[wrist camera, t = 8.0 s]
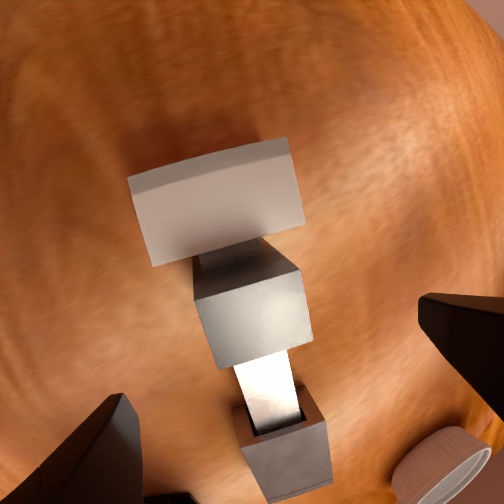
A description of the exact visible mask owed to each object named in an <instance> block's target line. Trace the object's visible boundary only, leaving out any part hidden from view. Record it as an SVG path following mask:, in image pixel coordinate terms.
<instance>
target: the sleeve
mask: <svg viewBox="0 0 504 504" xmlns="http://www.w3.org/2000/svg"><path fill="white" fill-rule="evenodd" d="M295 392H296V396H297V400H298V405H299V409H300V414H301V419H302V422H301V423H298V424H295V425H292V426H289V427H286V428H283V429H280V430H277V431H274V432H271V433H267V434H264V435H261V436H256V434H255V431H254V428H253V426H252V423H251V421H250V418H249V415H248V413H247V410H246V407H245V405H244V406H240V407H237V408H233V409H232V414H233V418H234V423H235V427H236V431H237V436H238V440H239V444H240V448H241V450H242V452H243V454H244V457H245V459H246V461H247V463H248V465H249V467H250V469H251V471H252V473H253V475H254V477H255V479H256V481H257V483H258V485H259V487H260V489H261V491H262V493H263V495H264V496H265V498H266V500H267V502H268V504H271V503H275V502H278V501H282V500H285V499H288V498H292V497H295V496H298V495H301V494H304V493H307V492H310V491H312V490H315V489H318V488H321V487H323V486H326V485H328V484H331V483H333V475H332V466H331V458H330V451H329V443H328V436H327V428H326V421H325V419H324V417H323V415H322V414H321V412H320V410H319V409H318V407H317V405H316V403H315V402H314V400H313V398H312V397H311V395H310V393H309V391H308V390H307V388H306V386H303V387H300V388H297V389H295Z"/></svg>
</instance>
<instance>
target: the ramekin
mask: <svg viewBox="0 0 504 504" xmlns="http://www.w3.org/2000/svg"><path fill="white" fill-rule="evenodd" d="M490 454H491V448H490V446H489V445H488V444H487V443H485V442H481V441H480V440H479V439H477V438H476V437H474V436H473V435H472V434H470V433H469V432H467V431H466V430H464V429H462V428H461V427H458V426H449V427H445V428H442V429H440V430H438V431H436V432H434V433H433V434H431V435H429V436H428V437H427V438H425V439H424V440H423V441H421V442H420V443H419V444H418V445H416V446H415V447H414V448H413V449H412V450H411V451H410V452H409V453H408V454H407V455H406V456H405V457H404V458H403V459H402V460H401V462H400V463H399V464H398V465H397V467H396V469H395V470H394V472H393V476H392V481H391V484H392V488H393V491H394V493H395V495H396V497H397V499H398V501H399V503H400V504H445V503H446V502H448V501H449V500H450V499H452V498H453V497H454V496H455V495H456V494H458V493H459V492H460V491H461V490H462V489H463V488H464V487H465V486H467V485H468V484H469V482H471V480H472V479H473V478H474V477H475V476H476V475H477V474H478V473H479V471H480V470H481V469H482V468H483V466H484V465H485V463H486V462H487V460H488V459H489V457H490Z"/></svg>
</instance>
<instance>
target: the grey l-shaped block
mask: <svg viewBox="0 0 504 504" xmlns="http://www.w3.org/2000/svg"><path fill="white" fill-rule="evenodd" d="M192 261H193V288H194V302H195V305H196V308H197V311H198V314H199V317H200V320H201V323H202V326H203V328H204V331H205V334H206V337H207V340H208V343H209V345H210V348H211V351H212V354H213V356H214V359H215V362H216V364H217V367H218V370H222V369H225V368H229V367H232V366H234V369H235V372H236V375H237V378H238V381H239V384H240V386H241V389H242V392H243V395H244V398H245V400H246V403H247V406H248V409H249V411H250V414H251V417H252V419H253V422H254V425H255V427H256V430H257V433H258V435H259V436H261V435H264V434H267V433H271V432H274V431H277V430H280V429H283V428H286V427H289V426H292V425H295V424H298V423H301V422H302V419H301V414H300V409H299V405H298V400H297V396H296V392H295V387H294V383H293V378H292V374H291V369H290V365H289V360H288V356H287V352H286V350H287V349H290V348H293V347H296V346H299V345H302V344H305V343H307V342H310V341H313V336H312V330H311V324H310V319H309V313H308V308H307V302H306V297H305V292H304V286H303V281H302V276H301V271H300V269H299V268H298V267H297V266H295V265H294V264H293V263H292V262H291V261H289V260H288V259H287V258H286V257H285V256H283V255H282V254H281V253H280V252H279V251H277V250H276V249H275V248H274V247H272V246H271V245H270V244H269V243H268V242H266V241H265V240H264V239H263V238H262V237H258V238H254V239H251V240H247V241H244V242H240V243H236V244H233V245H229V246H226V247H222V248H219V249H215V250H212V251H208V252H205V253H201V254H198V255H194V256H192Z"/></svg>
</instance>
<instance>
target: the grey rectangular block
mask: <svg viewBox="0 0 504 504" xmlns="http://www.w3.org/2000/svg"><path fill="white" fill-rule="evenodd" d="M127 181H128V184H129V188H130V192H131V196H132V199H133V203H134V207H135V210H136V214H137V217H138V221H139V224H140V228H141V231H142V234H143V237H144V241H145V244H146V247H147V250H148V253H149V257H150V260H151V263H152V266H153V267H156V266H159V265H163V264H166V263H170V262H173V261H177V260H180V259H184V258H187V257H191V256H194V255H198V254H201V253H205V252H208V251H212V250H215V249H219V248H222V247H226V246H229V245H233V244H236V243H240V242H244V241H247V240H251V239H254V238H258V237H262V236H265V235H269V234H272V233H276V232H280V231H283V230H287V229H290V228H294V227H298V226H301V225H305V224H306V221H305V216H304V211H303V207H302V202H301V197H300V193H299V188H298V183H297V179H296V174H295V170H294V166H293V161H292V157H291V153H290V148H289V144H288V140H287V137H281V138H276V139H271V140H266V141H261V142H257V143H252V144H247V145H243V146H238V147H234V148H230V149H226V150H221V151H217V152H213V153H209V154H205V155H202V156H198V157H194V158H190V159H186V160H183V161H179V162H176V163H172V164H169V165H165V166H162V167H158V168H155V169H152V170H149V171H145V172H142V173H139V174H136V175H133V176H130V177H127Z"/></svg>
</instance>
